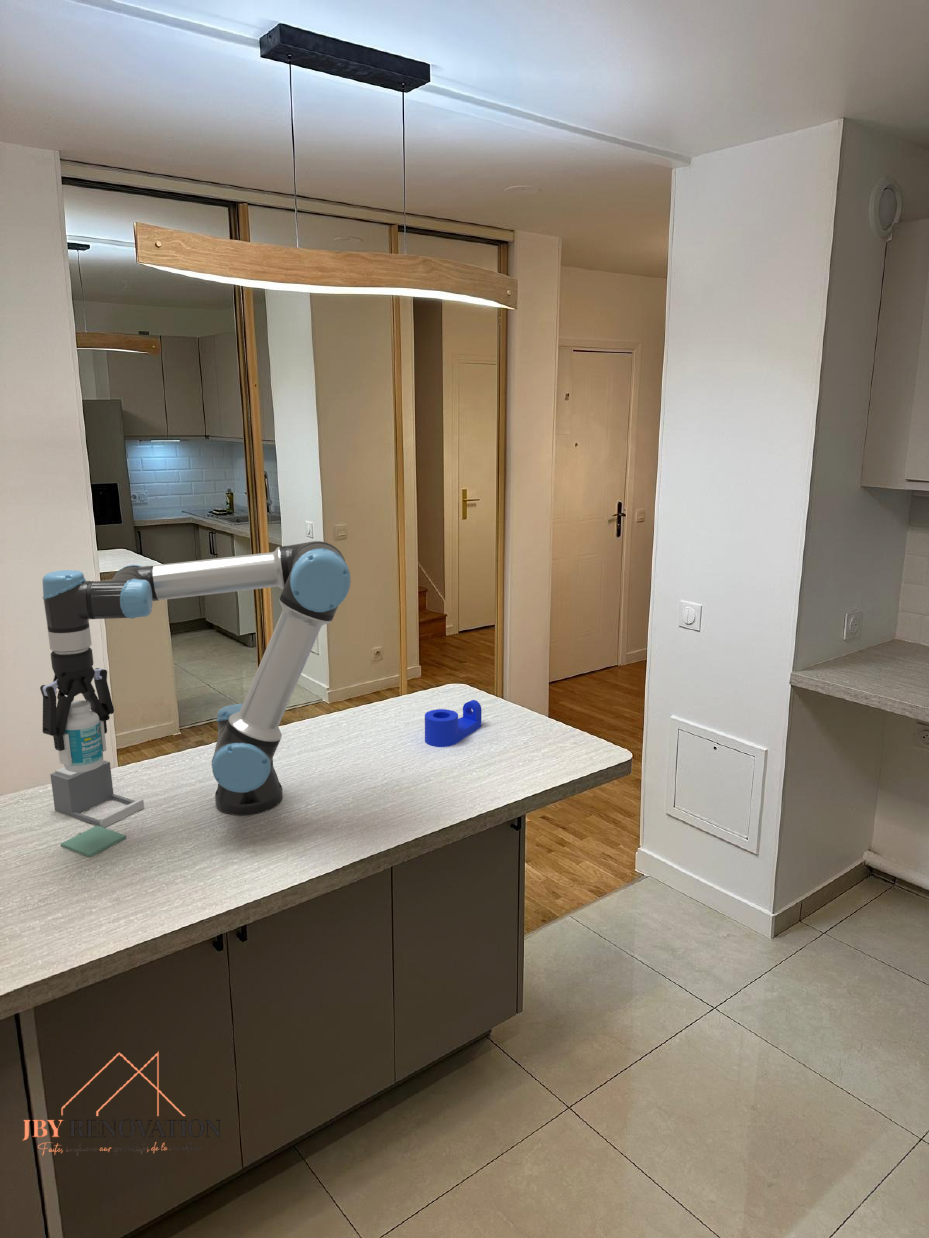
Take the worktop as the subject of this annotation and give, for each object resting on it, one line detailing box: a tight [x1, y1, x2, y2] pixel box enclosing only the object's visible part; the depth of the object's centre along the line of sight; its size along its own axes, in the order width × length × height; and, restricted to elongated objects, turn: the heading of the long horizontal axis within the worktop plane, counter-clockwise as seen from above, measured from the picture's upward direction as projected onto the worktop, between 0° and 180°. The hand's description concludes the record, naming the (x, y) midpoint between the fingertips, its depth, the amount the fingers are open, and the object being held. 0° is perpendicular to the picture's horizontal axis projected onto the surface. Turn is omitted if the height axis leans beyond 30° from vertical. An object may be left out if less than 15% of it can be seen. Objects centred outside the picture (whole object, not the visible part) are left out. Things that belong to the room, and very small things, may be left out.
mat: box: [60, 825, 127, 858], centre depth 179 cm, size 9×9×1 cm
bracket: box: [424, 699, 483, 748], centre depth 236 cm, size 20×9×8 cm, turn 142°
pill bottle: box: [63, 700, 104, 772], centre depth 173 cm, size 8×7×14 cm
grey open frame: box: [49, 759, 145, 828], centre depth 192 cm, size 16×11×10 cm
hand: (83, 756), depth 174 cm, fingers closed on pill bottle, 7 cm apart
